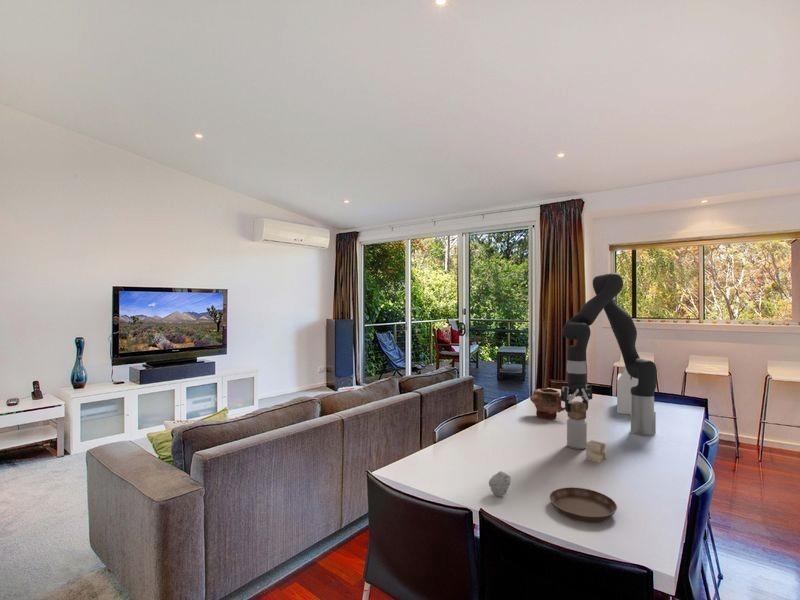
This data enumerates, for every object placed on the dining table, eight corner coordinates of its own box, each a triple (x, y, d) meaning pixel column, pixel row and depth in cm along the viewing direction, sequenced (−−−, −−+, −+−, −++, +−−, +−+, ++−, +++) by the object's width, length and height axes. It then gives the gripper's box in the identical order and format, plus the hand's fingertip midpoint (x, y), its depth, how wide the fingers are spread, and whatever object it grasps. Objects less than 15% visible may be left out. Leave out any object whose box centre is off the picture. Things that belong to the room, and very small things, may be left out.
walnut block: (577, 415, 176) (577, 400, 176) (586, 418, 172) (586, 403, 172) (567, 416, 175) (567, 401, 175) (576, 419, 170) (576, 404, 170)
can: (588, 450, 169) (588, 420, 169) (568, 449, 170) (568, 419, 170) (584, 444, 176) (584, 415, 176) (565, 443, 178) (565, 414, 178)
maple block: (592, 455, 163) (592, 440, 163) (605, 459, 160) (605, 443, 160) (586, 458, 160) (586, 442, 160) (599, 462, 156) (599, 446, 156)
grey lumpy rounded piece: (515, 497, 128) (515, 474, 128) (495, 501, 126) (495, 478, 126) (503, 489, 134) (503, 467, 134) (484, 492, 132) (484, 470, 132)
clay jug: (572, 417, 217) (572, 390, 217) (569, 423, 206) (568, 394, 206) (532, 412, 227) (532, 386, 227) (527, 417, 216) (527, 390, 216)
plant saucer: (548, 520, 116) (548, 509, 116) (550, 492, 132) (550, 483, 132) (621, 532, 110) (621, 521, 110) (613, 502, 126) (613, 492, 126)
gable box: (618, 404, 244) (618, 355, 244) (644, 406, 238) (644, 357, 238) (617, 413, 225) (616, 360, 225) (645, 416, 219) (645, 362, 219)
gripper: (583, 369, 179) (583, 407, 179) (556, 371, 174) (556, 410, 174) (597, 371, 172) (597, 411, 172) (569, 373, 167) (569, 415, 167)
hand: (576, 411), depth 173 cm, fingers open, 8 cm apart
